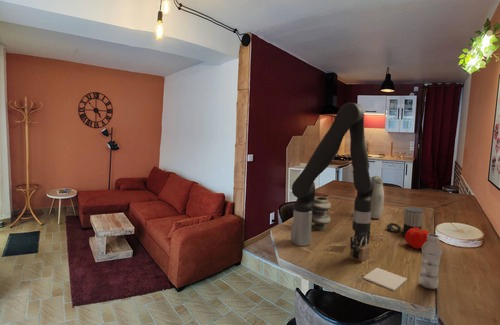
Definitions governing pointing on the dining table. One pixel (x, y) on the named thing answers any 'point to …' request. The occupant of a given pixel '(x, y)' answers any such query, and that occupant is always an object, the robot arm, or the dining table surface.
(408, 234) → the tomato
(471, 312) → the dining table surface
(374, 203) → the white bottle
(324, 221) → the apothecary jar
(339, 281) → the dining table surface
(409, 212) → the milk frother
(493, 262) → the dining table surface
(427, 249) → the plastic bottle
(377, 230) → the dining table surface
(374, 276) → the plate
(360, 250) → the cube
